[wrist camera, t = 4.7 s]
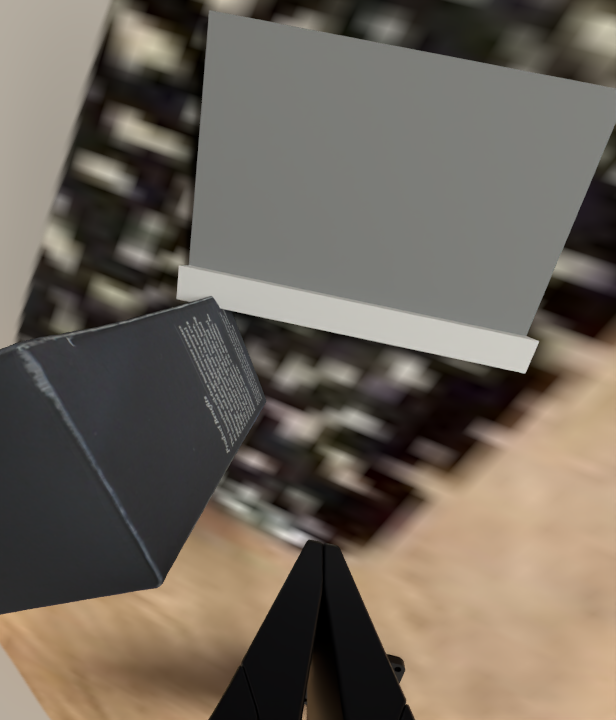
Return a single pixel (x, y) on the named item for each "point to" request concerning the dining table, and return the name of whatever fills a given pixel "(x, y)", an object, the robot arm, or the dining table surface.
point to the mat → (385, 188)
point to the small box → (115, 449)
